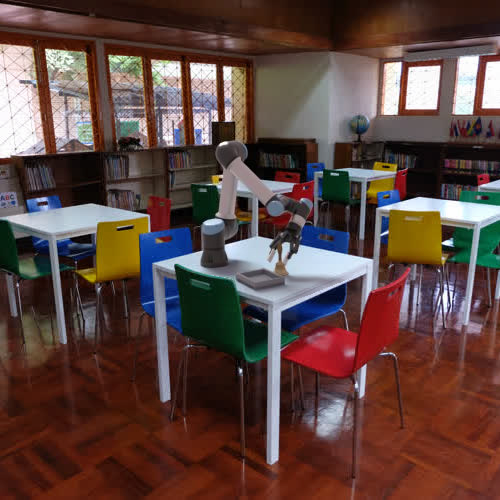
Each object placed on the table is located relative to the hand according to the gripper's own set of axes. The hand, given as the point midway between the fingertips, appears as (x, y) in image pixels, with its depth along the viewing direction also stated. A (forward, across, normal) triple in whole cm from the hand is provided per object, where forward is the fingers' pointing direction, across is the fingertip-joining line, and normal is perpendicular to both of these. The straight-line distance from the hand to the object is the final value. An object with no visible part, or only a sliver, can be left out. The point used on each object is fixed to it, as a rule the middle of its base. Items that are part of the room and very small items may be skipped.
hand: (276, 262), depth 245 cm
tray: (+14, -1, +6) cm, 16 cm away
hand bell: (+2, 0, -7) cm, 7 cm away
